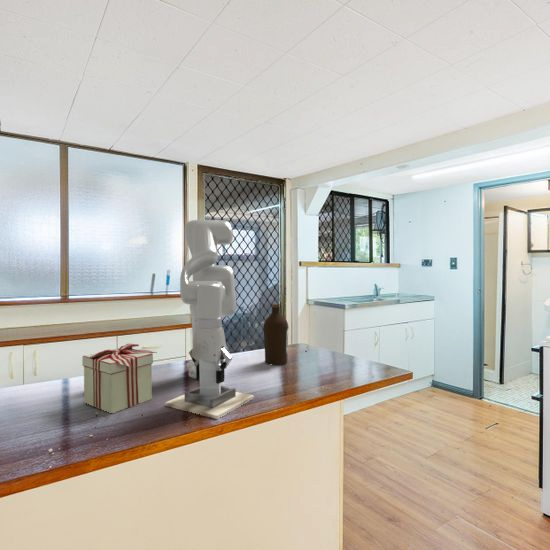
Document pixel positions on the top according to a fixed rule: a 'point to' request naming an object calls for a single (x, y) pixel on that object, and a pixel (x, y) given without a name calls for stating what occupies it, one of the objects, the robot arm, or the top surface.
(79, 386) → the top surface
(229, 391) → the holder board
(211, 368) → the skincare box
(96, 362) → the gift box
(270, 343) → the olive oil
